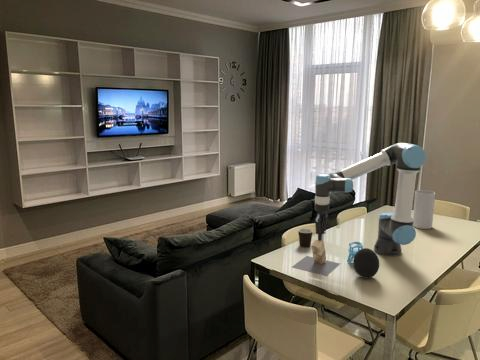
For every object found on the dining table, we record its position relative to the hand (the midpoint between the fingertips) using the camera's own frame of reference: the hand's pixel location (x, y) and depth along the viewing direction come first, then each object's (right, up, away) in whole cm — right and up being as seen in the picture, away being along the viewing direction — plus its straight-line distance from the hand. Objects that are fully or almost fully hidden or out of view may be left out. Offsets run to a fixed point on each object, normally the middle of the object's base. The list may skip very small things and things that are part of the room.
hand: (320, 245), depth 212 cm
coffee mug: (-3, -5, +28) cm, 29 cm away
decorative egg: (+19, -14, -16) cm, 28 cm away
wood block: (0, -9, +1) cm, 9 cm away
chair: (+19, -10, +1) cm, 22 cm away
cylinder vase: (+85, +2, +62) cm, 105 cm away
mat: (-3, -11, -3) cm, 12 cm away
